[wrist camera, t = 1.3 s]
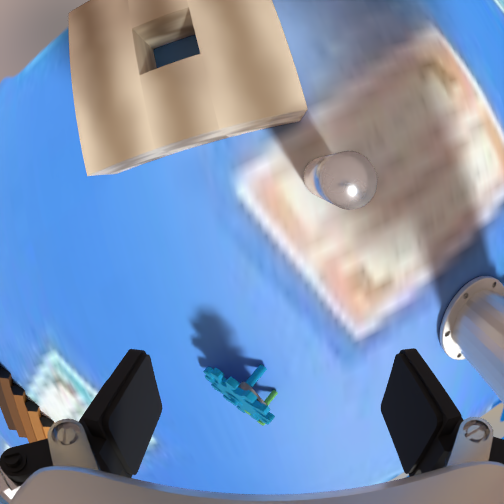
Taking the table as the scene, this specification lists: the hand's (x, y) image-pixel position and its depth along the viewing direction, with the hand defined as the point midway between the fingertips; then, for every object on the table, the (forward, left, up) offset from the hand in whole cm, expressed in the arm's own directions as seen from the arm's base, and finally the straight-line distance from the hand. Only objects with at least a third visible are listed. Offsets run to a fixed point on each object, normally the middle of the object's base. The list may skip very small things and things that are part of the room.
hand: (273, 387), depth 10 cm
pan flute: (+55, +25, -22) cm, 64 cm away
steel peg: (-7, -6, -21) cm, 23 cm away
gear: (+7, +16, -22) cm, 28 cm away
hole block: (+4, -22, -21) cm, 31 cm away
